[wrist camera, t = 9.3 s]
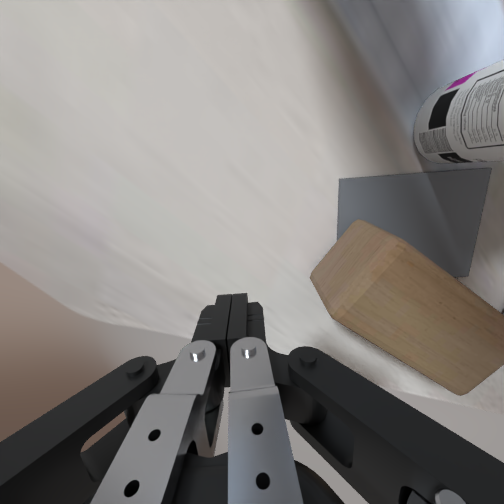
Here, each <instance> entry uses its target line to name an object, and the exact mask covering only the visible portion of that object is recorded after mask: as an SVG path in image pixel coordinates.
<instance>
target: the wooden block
mask: <svg viewBox="0 0 504 504" xmlns="http://www.w3.org/2000/svg"><path fill="white" fill-rule="evenodd" d="M310 279H311V281H312V283H313V285H314V286H315V288H316V290H317V292H318V294H319V296H320V298H321V300H322V301H323V303H324V305H325V307H326V309H327V311H328V313H329V314H330V316H331V317H332V318H333V319H334V320H336V321H338V322H339V323H341V324H342V325H344V326H346V327H347V328H349V329H351V330H352V331H354V332H355V333H357V334H359V335H360V336H362V337H364V338H365V339H367V340H368V341H370V342H372V343H373V344H375V345H376V346H378V347H380V348H381V349H383V350H385V351H386V352H388V353H389V354H391V355H393V356H394V357H396V358H398V359H399V360H401V361H402V362H404V363H406V364H407V365H409V366H411V367H412V368H414V369H415V370H417V371H419V372H420V373H422V374H423V375H425V376H427V377H428V378H430V379H432V380H433V381H435V382H436V383H438V384H440V385H441V386H443V387H445V388H446V389H448V390H449V391H451V392H453V393H455V394H456V395H464V394H467V393H468V392H470V391H471V390H472V389H473V388H475V387H476V386H477V385H478V384H480V383H481V382H482V381H484V380H485V379H486V378H487V377H489V376H490V375H491V374H492V373H494V372H495V371H496V370H498V369H499V368H500V367H501V366H503V365H504V315H503V314H501V313H500V312H499V311H497V310H496V309H495V308H493V307H492V306H491V305H490V304H488V303H487V302H486V301H484V300H483V299H482V298H480V297H479V296H478V295H476V294H475V293H474V292H472V291H471V290H470V289H468V288H467V287H466V286H464V285H463V284H462V283H460V282H459V281H458V280H456V279H455V278H454V277H452V276H451V275H450V274H448V273H447V272H446V271H445V270H443V269H442V268H441V267H439V266H438V265H437V264H435V263H434V262H433V261H431V260H430V259H429V258H427V257H426V256H425V255H423V254H422V253H421V252H419V251H418V250H417V249H415V248H414V247H413V246H411V245H410V244H409V243H407V242H406V241H405V240H403V239H401V238H399V237H397V236H395V235H393V234H391V233H389V232H387V231H385V230H383V229H381V228H379V227H377V226H375V225H373V224H371V223H369V222H367V221H365V220H360V219H358V220H356V221H354V222H353V223H352V224H351V225H350V226H349V228H348V229H347V230H346V231H345V232H344V234H343V235H342V236H341V237H340V238H339V240H338V241H337V242H336V243H335V245H334V246H333V247H332V248H331V249H330V251H329V252H328V253H327V254H326V255H325V257H324V258H323V259H322V260H321V262H320V263H319V264H318V265H317V266H316V268H315V269H314V270H313V271H312V273H311V276H310Z"/></svg>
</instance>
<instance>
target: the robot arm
mask: <svg viewBox="0 0 504 504" xmlns="http://www.w3.org/2000/svg"><path fill="white" fill-rule="evenodd" d="M224 387H230V392H229V397H228V401H229V402H228V407H229V408H228V452H226V453H223V454H221V455H218V456H215V457H214V453H215V448H216V442H217V437H218V432H219V427H220V421H221V416H222V411H223V396H224ZM123 411H124V413H125V416H126V419H125V420H123V421H122V422H121V423H120V424H118V425H117V426H116V427H115V428H113V429H112V430H111V431H110V432H108V433H107V434H106V435H105V436H103V437H102V438H101V439H100V440H99V441H97V442H96V443H95V444H94V445H92V446H91V447H90V448H89V449H87V450H86V451H84V452H81V448H82V446H83V445H84V443H85V442H86V441H87V440H88V439H89V438H90V437H91V436H92V435H94V434H95V433H96V432H97V431H99V430H100V429H101V428H103V427H104V426H105V425H106V424H108V423H109V422H110V421H112V420H113V419H114V418H115V417H116V416H118V415H119V414H120V413H122V412H123ZM285 419H287V420H290V422H291V425H292V427H293V428H294V429H295V430H296V431H297V432H298V433H299V434H300V435H301V436H302V437H303V438H304V439H305V440H306V441H307V442H308V443H309V444H310V445H311V446H312V447H313V448H314V449H315V450H316V451H317V452H318V453H319V454H320V455H321V456H322V457H323V458H324V459H325V460H326V461H327V462H328V463H329V464H330V465H331V466H332V467H333V468H334V469H335V470H336V471H337V472H338V473H339V474H340V475H341V476H342V477H343V478H344V479H345V480H346V481H347V482H348V483H349V484H350V485H351V486H352V487H353V488H354V489H355V490H356V491H357V492H358V493H359V494H360V495H361V496H362V497H363V498H364V499H365V500H366V501H367V502H368V503H369V504H504V463H503V462H501V461H499V460H498V459H496V458H494V457H493V456H491V455H489V454H488V453H486V452H485V451H483V450H481V449H480V448H478V447H477V446H475V445H473V444H472V443H470V442H469V441H466V440H465V439H463V438H462V437H460V436H459V435H457V434H455V433H454V432H452V431H450V430H449V429H447V428H446V427H444V426H442V425H441V424H439V423H438V422H436V421H434V420H433V419H431V418H429V417H428V416H426V415H425V414H423V413H421V412H419V411H418V410H416V409H415V408H413V407H411V406H410V405H408V404H407V403H405V402H403V401H402V400H400V399H398V398H397V397H395V396H394V395H392V394H390V393H389V392H387V391H385V390H384V389H382V388H380V387H379V386H377V385H376V384H374V383H372V382H371V381H369V380H367V379H366V378H364V377H363V376H361V375H359V374H358V373H356V372H354V371H353V370H351V369H350V368H348V367H346V366H345V365H343V364H341V363H340V362H338V361H336V360H335V359H333V358H332V357H330V356H328V355H327V354H325V353H323V352H322V351H320V350H318V349H316V348H313V347H306V346H304V347H298V348H296V349H294V350H292V351H291V352H290V354H289V355H284V354H280V353H277V352H275V351H273V350H271V349H270V348H269V347H268V345H267V343H266V337H265V327H264V316H263V307H262V306H261V305H260V304H259V303H258V302H252V303H248V296H247V293H241V294H233V296H232V294H227V295H218V296H217V299H216V303H215V305H207V306H206V307H205V308H204V309H203V310H202V311H201V314H200V317H199V320H198V323H197V326H196V329H195V332H194V335H193V338H192V341H191V343H189V344H187V345H186V346H185V347H184V348H182V350H181V351H180V353H179V355H178V357H177V359H175V360H173V361H170V362H167V363H163V364H160V365H156V361H155V360H154V359H153V358H152V357H148V356H142V357H137V358H134V359H131V360H129V361H128V362H126V363H124V364H123V365H121V366H120V367H118V368H117V369H115V370H113V371H112V372H110V373H109V374H107V375H106V376H104V377H102V378H101V379H99V380H97V381H96V382H95V383H93V384H91V385H90V386H88V387H87V388H85V389H84V390H82V391H80V392H79V393H77V394H76V395H74V396H72V397H71V398H69V399H68V400H66V401H65V402H63V403H61V404H60V405H58V406H57V407H55V408H54V409H52V410H50V411H49V412H47V413H46V414H44V415H42V416H41V417H39V418H38V419H36V420H34V421H33V422H31V423H30V424H28V425H27V426H25V427H23V428H22V429H20V430H19V431H17V432H16V433H14V434H13V435H11V436H9V437H8V438H6V439H5V440H3V441H1V442H0V504H344V502H343V501H342V500H341V499H340V498H339V497H338V496H337V495H336V493H335V492H334V491H333V490H332V489H331V488H330V486H328V484H327V483H326V482H325V481H324V480H323V479H322V478H321V477H320V476H319V475H318V474H316V473H315V472H314V471H313V470H311V469H310V468H308V467H307V466H305V465H303V464H302V463H299V462H298V461H295V460H294V458H293V454H292V450H291V445H290V441H289V436H288V431H287V427H286V422H285ZM80 452H81V453H80Z"/></svg>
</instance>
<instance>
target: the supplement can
mask: <svg viewBox="0 0 504 504" xmlns="http://www.w3.org/2000/svg"><path fill="white" fill-rule="evenodd" d="M414 141H415V144H416V146H417V148H418V151H419V152H420V153H421V154H422V155H423V156H424V157H425V158H426V159H427V160H429V161H432V162H435V163H438V164H442V163H465V162H488V161H504V60H501V61H499V62H497V63H495V64H492V65H490V66H488V67H486V68H483V69H481V70H479V71H476V72H474V73H472V74H470V75H467V76H465V77H463V78H461V79H458V80H456V81H454V82H452V83H449V84H447V85H445V86H443V87H441V88H439V89H437V90H436V91H435V92H434V93H433V94H432V95H430V96H429V97H428V98H427V99H426V100H425V102H424V104H423V105H422V107H421V109H420V110H419V112H418V114H417V118H416V121H415V125H414Z"/></svg>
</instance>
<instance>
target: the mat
mask: <svg viewBox="0 0 504 504" xmlns="http://www.w3.org/2000/svg"><path fill="white" fill-rule="evenodd" d="M491 169H492V168H482V169H469V170H455V171H441V172H428V173H414V174H400V175H387V176H373V177H359V178H345V179H339V196H338V224H337V241H338V240H339V238H340V237H341V236H342V235H343V234H344V232H345V231H346V230H347V229H348V228H349V226H350V225H351V224H352V223H353V222H354V221H356V220H358V219H360V220H365V221H367V222H369V223H371V224H373V225H375V226H377V227H379V228H381V229H383V230H385V231H387V232H389V233H391V234H393V235H395V236H397V237H399V238H401V239H403V240H405V241H406V242H407V243H409V244H410V245H411V246H413V247H414V248H415V249H417V250H418V251H419V252H421V253H422V254H423V255H425V256H426V257H427V258H429V259H430V260H431V261H433V262H434V263H435V264H437V265H438V266H439V267H441V268H442V269H443V270H445V271H446V272H447V273H448V274H450V275H451V276H452V277H464V276H469V271H470V266H471V262H472V257H473V252H474V248H475V243H476V239H477V234H478V229H479V225H480V220H481V215H482V211H483V206H484V202H485V197H486V192H487V188H488V183H489V178H490V174H491Z"/></svg>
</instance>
